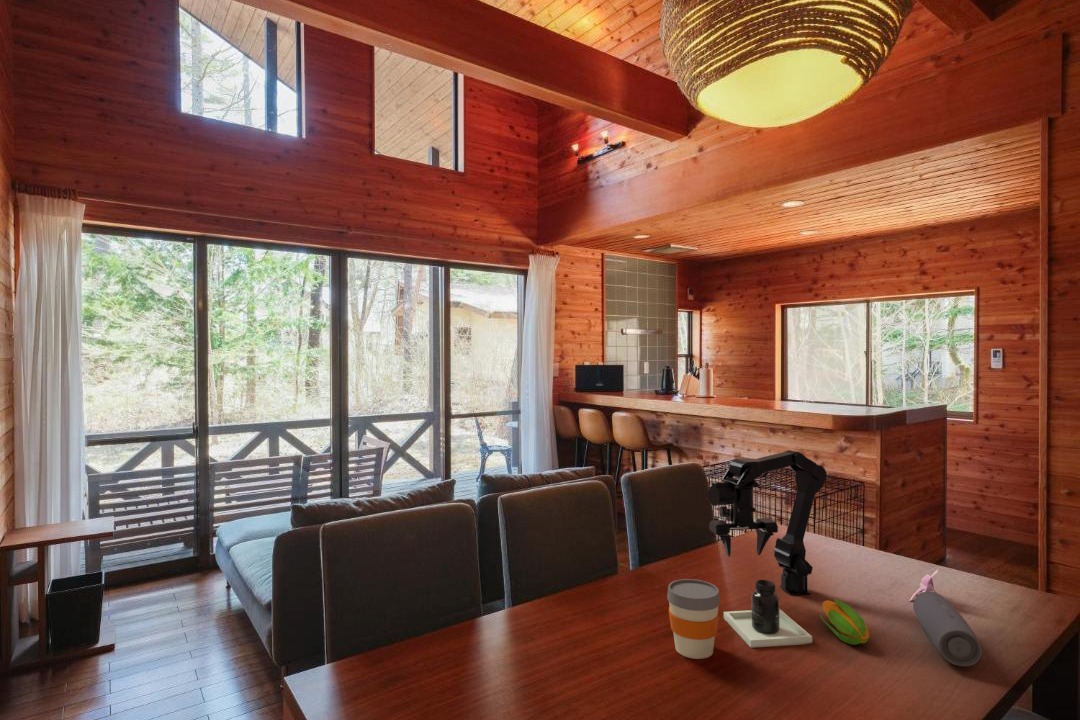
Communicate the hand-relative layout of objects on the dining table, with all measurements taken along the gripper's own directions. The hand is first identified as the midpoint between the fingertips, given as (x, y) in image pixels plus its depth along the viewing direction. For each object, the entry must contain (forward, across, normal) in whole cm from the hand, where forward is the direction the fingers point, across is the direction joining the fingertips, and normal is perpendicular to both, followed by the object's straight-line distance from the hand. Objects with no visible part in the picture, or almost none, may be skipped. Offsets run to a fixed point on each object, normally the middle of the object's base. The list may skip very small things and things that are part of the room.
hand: (743, 555), depth 170 cm
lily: (+13, -52, +7) cm, 54 cm away
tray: (+13, +3, +19) cm, 23 cm away
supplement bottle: (+13, +3, +19) cm, 23 cm away
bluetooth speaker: (+13, -36, +33) cm, 50 cm away
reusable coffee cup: (+13, +25, +26) cm, 38 cm away
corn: (+13, -16, +22) cm, 30 cm away
